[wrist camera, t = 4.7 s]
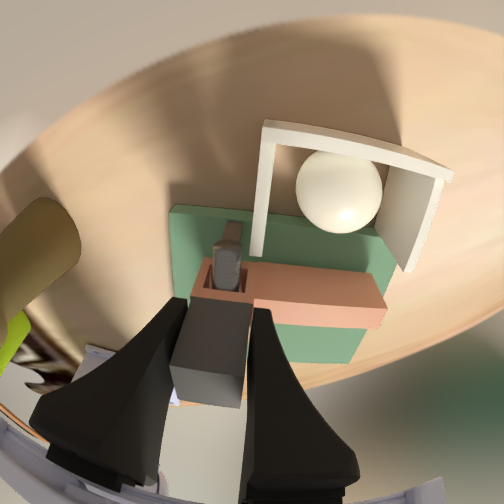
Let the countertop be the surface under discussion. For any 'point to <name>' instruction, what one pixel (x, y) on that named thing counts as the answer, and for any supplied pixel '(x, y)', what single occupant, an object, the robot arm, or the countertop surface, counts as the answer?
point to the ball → (338, 191)
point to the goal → (395, 192)
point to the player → (240, 316)
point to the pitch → (283, 252)
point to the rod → (228, 258)
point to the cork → (34, 256)
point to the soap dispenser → (14, 338)
